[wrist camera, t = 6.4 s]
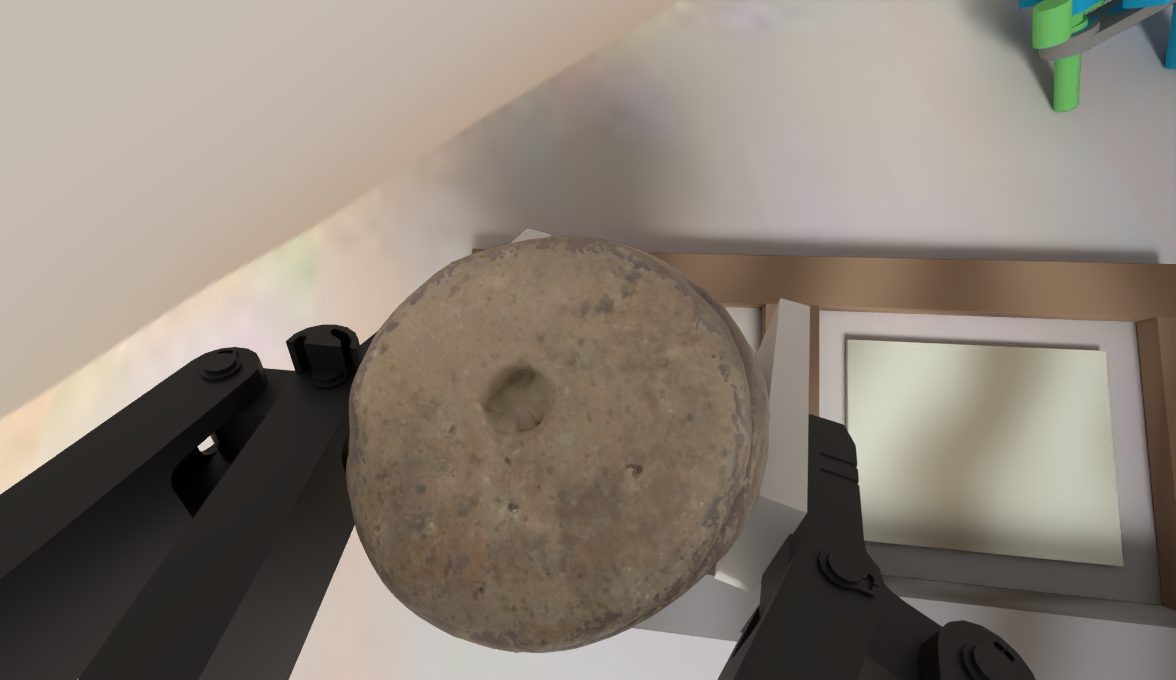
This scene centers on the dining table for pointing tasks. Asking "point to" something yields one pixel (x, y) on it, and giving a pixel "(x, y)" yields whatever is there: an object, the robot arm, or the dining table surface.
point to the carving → (553, 443)
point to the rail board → (983, 443)
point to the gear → (1085, 35)
